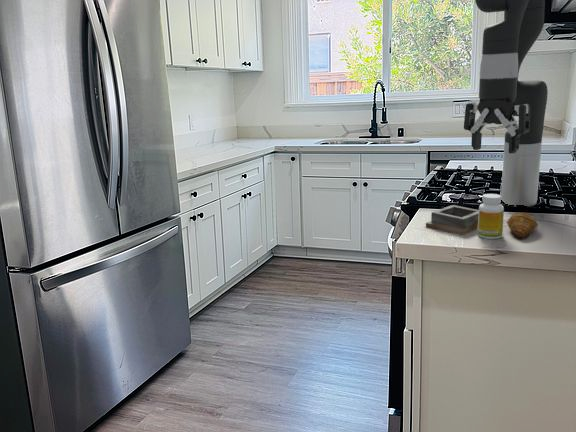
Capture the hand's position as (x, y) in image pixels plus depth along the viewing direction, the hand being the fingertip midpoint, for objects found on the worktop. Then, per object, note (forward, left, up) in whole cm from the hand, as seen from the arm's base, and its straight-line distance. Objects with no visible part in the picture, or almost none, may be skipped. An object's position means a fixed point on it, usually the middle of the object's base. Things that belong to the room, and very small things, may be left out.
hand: (494, 151), depth 115 cm
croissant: (-8, +4, -20) cm, 22 cm away
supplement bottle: (0, 0, -20) cm, 20 cm away
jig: (-2, -10, -20) cm, 22 cm away
